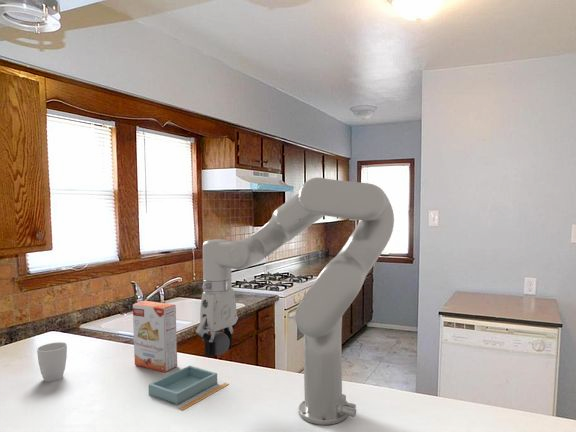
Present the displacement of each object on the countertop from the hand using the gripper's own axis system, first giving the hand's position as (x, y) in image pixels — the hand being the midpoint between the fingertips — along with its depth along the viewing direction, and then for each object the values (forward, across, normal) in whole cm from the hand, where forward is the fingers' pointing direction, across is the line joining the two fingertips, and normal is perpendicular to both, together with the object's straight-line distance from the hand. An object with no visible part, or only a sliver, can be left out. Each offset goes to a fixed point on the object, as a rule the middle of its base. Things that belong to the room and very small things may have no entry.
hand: (218, 351), depth 113 cm
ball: (+1, 0, 0) cm, 1 cm away
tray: (+14, 0, +12) cm, 18 cm away
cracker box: (+14, +7, +35) cm, 38 cm away
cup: (+14, -16, +55) cm, 59 cm away
